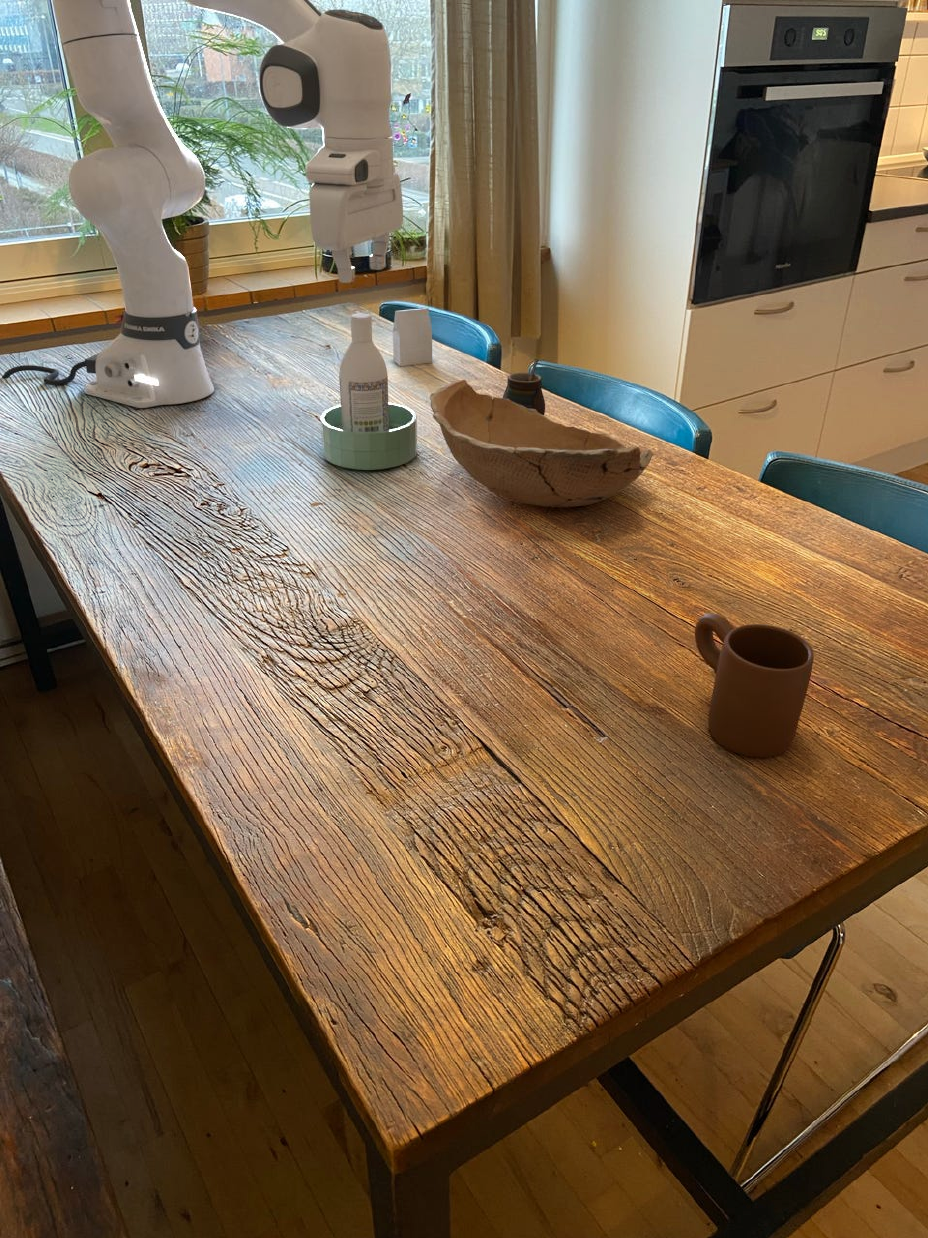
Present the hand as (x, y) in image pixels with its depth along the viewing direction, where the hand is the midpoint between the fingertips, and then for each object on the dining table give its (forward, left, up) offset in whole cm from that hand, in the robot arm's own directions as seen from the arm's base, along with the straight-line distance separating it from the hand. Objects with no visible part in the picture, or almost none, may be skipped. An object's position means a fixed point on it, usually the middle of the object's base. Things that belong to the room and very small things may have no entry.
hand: (362, 275), depth 124 cm
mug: (+59, -46, -26) cm, 79 cm away
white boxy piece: (-14, +48, -26) cm, 56 cm away
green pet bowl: (0, 0, -26) cm, 26 cm away
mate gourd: (+17, +22, -26) cm, 38 cm away
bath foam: (-1, 0, -26) cm, 26 cm away
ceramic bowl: (+27, -3, -26) cm, 38 cm away
